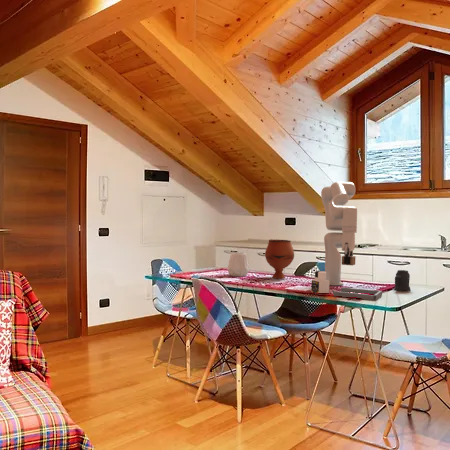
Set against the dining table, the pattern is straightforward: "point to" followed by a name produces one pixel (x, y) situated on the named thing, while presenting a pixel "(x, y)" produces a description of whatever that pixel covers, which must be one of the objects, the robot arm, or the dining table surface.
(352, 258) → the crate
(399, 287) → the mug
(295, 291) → the dining table surface
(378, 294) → the tray
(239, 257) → the vase
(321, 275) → the medicine bottle
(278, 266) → the goblet
